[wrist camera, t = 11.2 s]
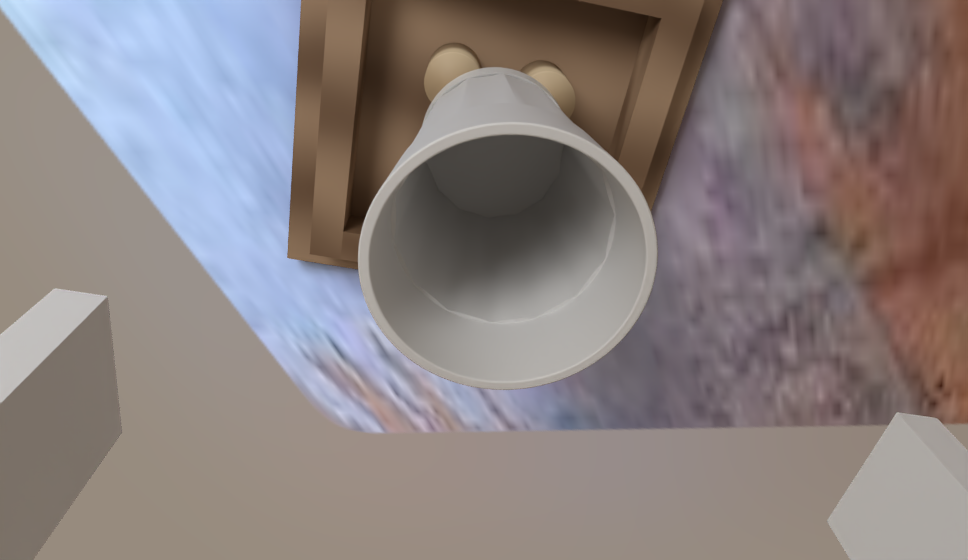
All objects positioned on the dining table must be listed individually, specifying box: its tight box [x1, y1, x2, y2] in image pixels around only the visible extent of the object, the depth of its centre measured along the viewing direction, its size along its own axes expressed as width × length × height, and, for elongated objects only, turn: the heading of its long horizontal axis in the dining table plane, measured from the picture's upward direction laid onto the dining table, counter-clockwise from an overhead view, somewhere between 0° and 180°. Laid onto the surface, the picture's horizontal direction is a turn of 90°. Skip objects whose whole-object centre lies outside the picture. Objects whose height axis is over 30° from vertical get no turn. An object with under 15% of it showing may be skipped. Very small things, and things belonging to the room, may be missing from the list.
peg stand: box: [287, 0, 723, 269], centre depth 29 cm, size 18×18×4 cm
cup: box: [358, 67, 658, 390], centre depth 22 cm, size 8×8×12 cm
